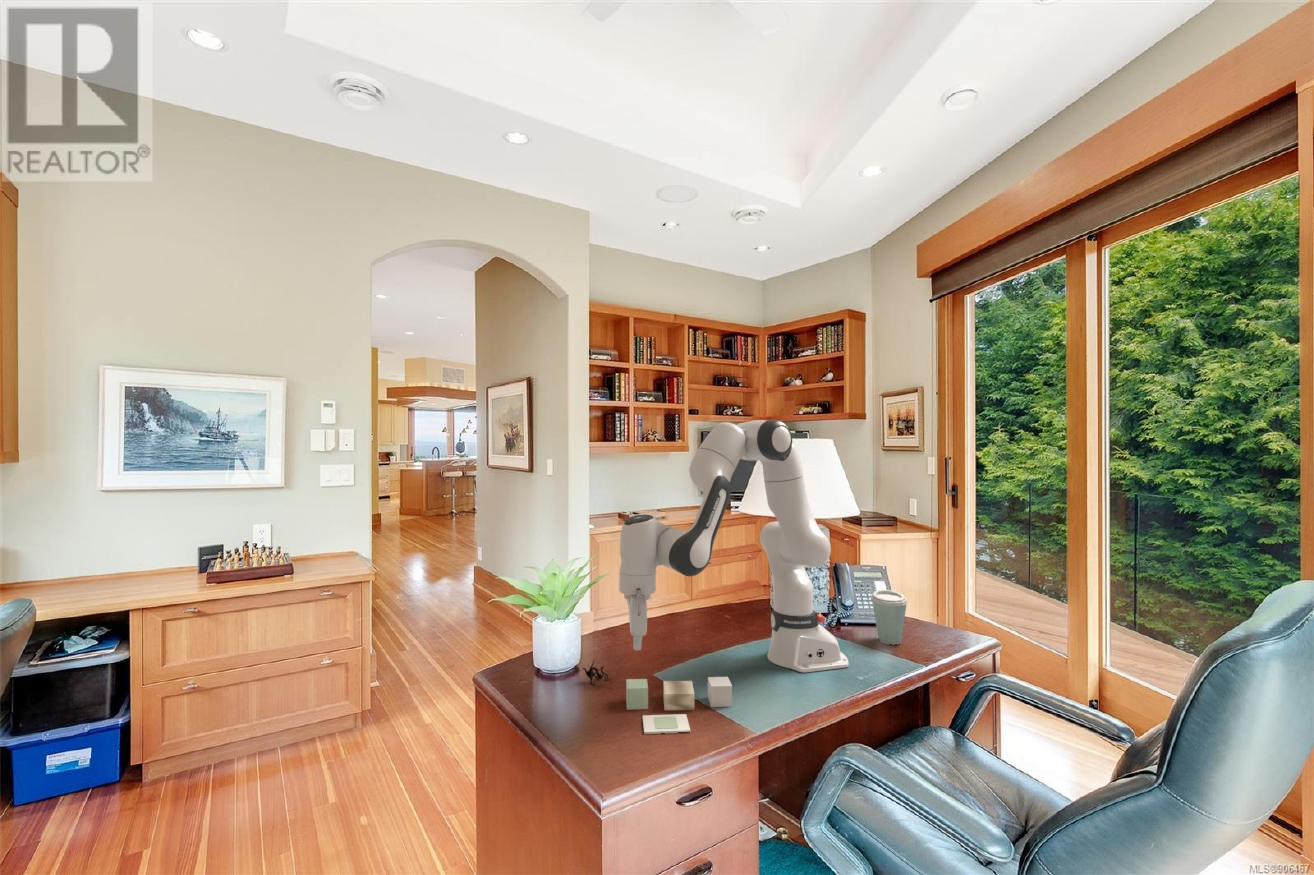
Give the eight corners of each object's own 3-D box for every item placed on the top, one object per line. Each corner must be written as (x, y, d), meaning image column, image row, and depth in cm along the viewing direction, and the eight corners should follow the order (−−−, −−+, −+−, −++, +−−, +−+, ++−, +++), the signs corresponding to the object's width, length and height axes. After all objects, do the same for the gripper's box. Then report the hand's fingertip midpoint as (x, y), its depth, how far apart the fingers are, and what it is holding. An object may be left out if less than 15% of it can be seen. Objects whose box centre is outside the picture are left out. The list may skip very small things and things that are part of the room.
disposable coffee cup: (913, 648, 169) (913, 599, 169) (877, 647, 169) (878, 598, 169) (898, 635, 179) (899, 589, 179) (865, 635, 180) (865, 589, 180)
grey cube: (727, 696, 136) (727, 676, 136) (731, 706, 131) (732, 685, 131) (707, 697, 136) (707, 677, 136) (711, 707, 131) (711, 686, 131)
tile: (686, 716, 126) (686, 713, 126) (690, 732, 119) (690, 730, 119) (642, 717, 126) (642, 715, 126) (644, 734, 119) (644, 731, 119)
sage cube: (646, 699, 135) (646, 678, 135) (647, 709, 130) (648, 688, 130) (626, 699, 134) (626, 679, 134) (626, 710, 129) (626, 688, 129)
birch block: (691, 697, 136) (691, 680, 136) (694, 711, 129) (694, 694, 129) (663, 697, 136) (663, 681, 136) (664, 711, 129) (664, 694, 129)
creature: (617, 684, 145) (592, 672, 148) (622, 665, 145) (596, 653, 148) (603, 697, 138) (576, 684, 141) (608, 676, 138) (581, 664, 141)
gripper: (653, 596, 122) (652, 658, 122) (648, 573, 142) (647, 627, 142) (625, 596, 121) (623, 659, 121) (623, 573, 142) (622, 627, 142)
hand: (636, 641), depth 132 cm, fingers open, 8 cm apart
